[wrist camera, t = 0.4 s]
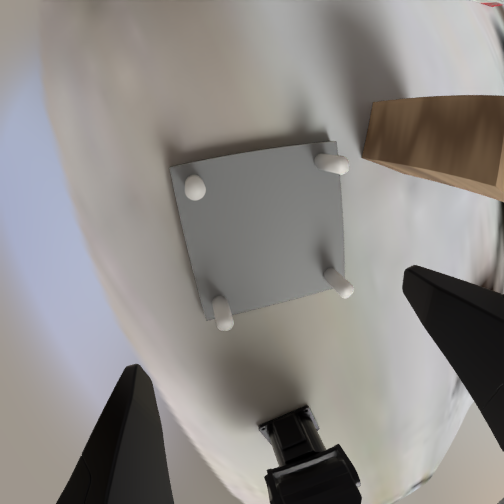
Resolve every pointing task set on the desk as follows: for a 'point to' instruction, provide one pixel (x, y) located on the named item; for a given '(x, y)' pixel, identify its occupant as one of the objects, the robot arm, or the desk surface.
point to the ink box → (490, 2)
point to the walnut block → (442, 140)
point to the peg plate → (263, 226)
